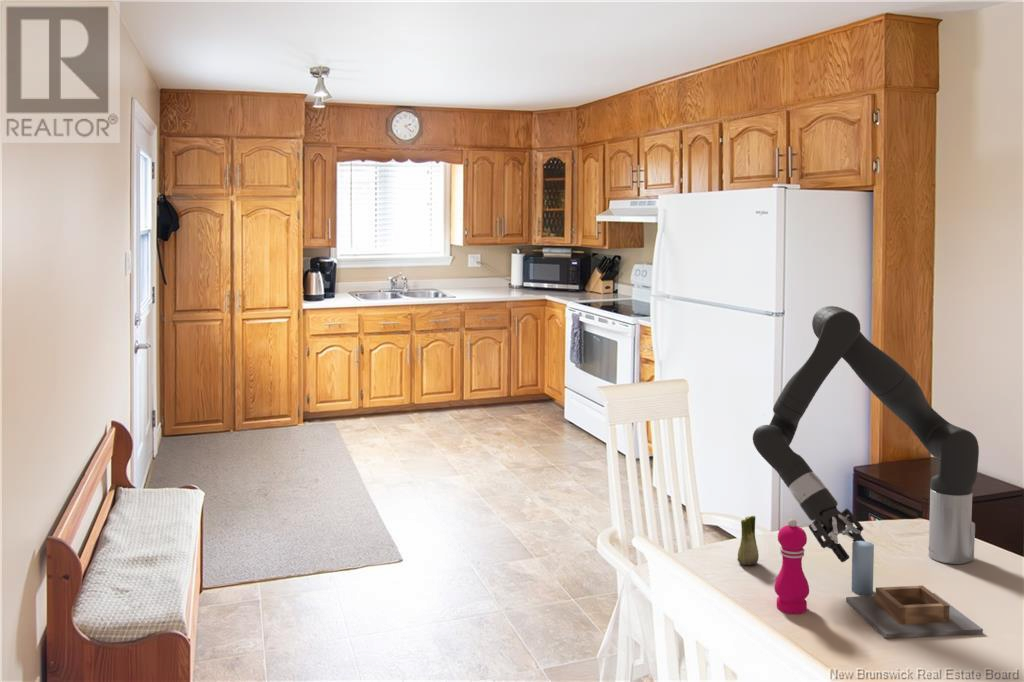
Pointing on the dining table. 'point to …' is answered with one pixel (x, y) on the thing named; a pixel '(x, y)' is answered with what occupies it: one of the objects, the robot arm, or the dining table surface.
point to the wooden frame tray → (911, 613)
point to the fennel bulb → (748, 543)
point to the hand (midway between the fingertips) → (856, 555)
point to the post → (862, 567)
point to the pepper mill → (792, 570)
